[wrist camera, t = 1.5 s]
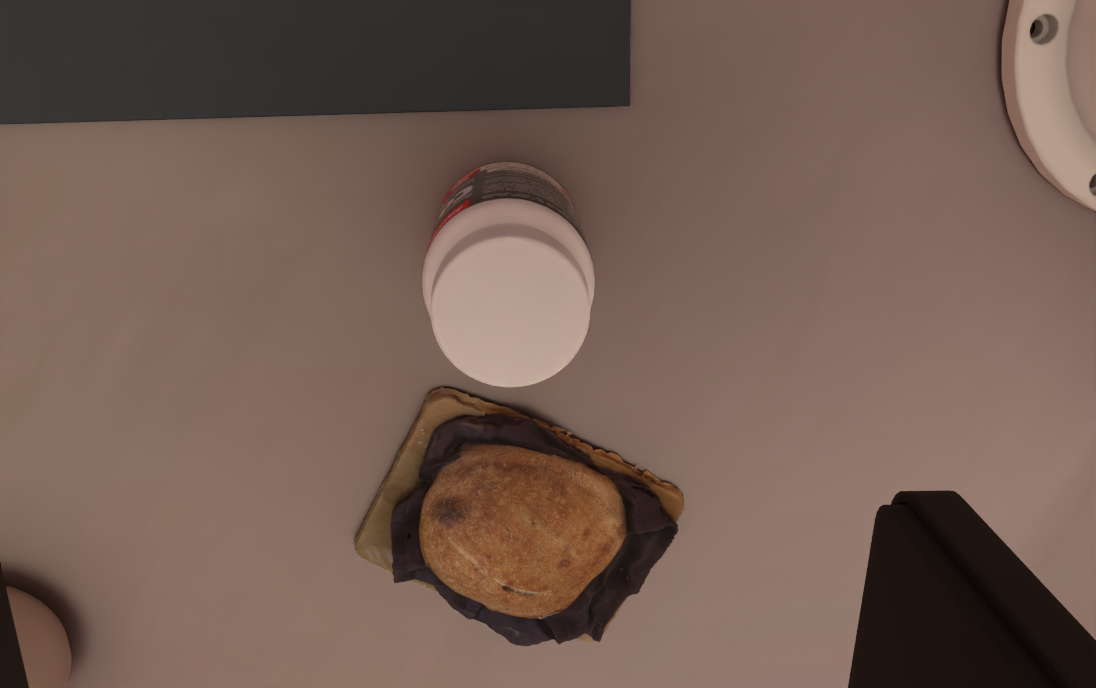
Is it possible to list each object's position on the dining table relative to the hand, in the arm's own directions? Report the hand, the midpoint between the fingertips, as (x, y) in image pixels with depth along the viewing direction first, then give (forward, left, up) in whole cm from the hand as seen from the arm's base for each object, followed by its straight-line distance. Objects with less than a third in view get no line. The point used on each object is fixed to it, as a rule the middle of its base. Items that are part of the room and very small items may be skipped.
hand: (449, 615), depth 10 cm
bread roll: (-1, +12, -22) cm, 25 cm away
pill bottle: (-1, +1, -22) cm, 22 cm away
